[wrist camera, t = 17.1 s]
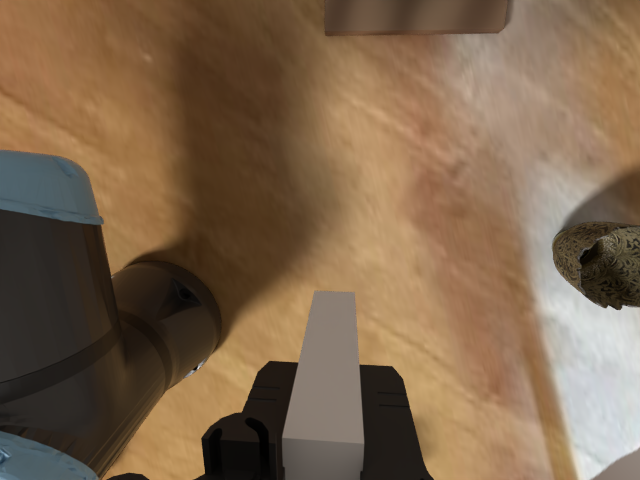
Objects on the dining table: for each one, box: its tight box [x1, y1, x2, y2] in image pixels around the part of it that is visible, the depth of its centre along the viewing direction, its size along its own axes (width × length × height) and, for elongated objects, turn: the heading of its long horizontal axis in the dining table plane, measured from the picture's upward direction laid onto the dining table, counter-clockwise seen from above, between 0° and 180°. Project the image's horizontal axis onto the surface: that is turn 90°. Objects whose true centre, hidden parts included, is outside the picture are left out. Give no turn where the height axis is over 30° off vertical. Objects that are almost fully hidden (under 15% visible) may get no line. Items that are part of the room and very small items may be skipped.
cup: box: [552, 222, 640, 310], centre depth 31 cm, size 8×7×8 cm
